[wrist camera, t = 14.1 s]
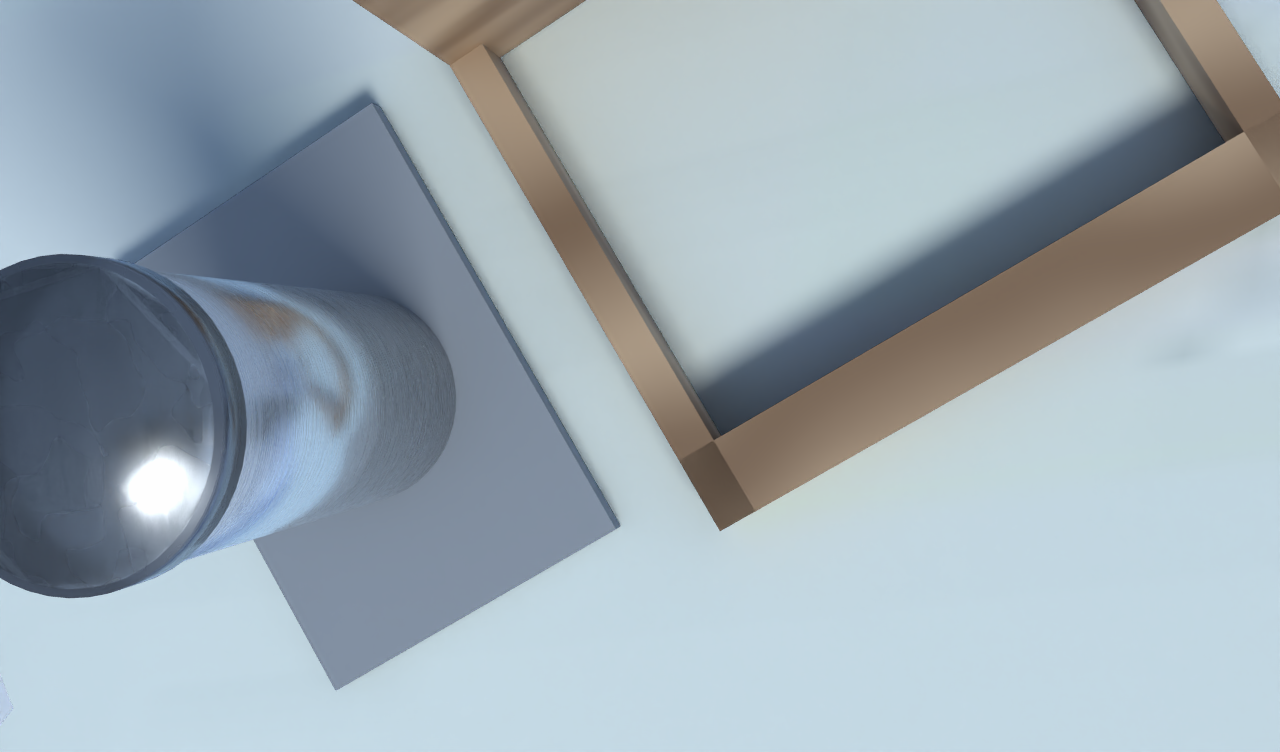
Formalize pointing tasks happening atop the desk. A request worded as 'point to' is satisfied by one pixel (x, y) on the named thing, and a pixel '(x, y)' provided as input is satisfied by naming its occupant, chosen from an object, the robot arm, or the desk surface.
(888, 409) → the frame
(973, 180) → the desk surface
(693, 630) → the desk surface
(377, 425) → the canister
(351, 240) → the felt pad
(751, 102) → the desk surface
